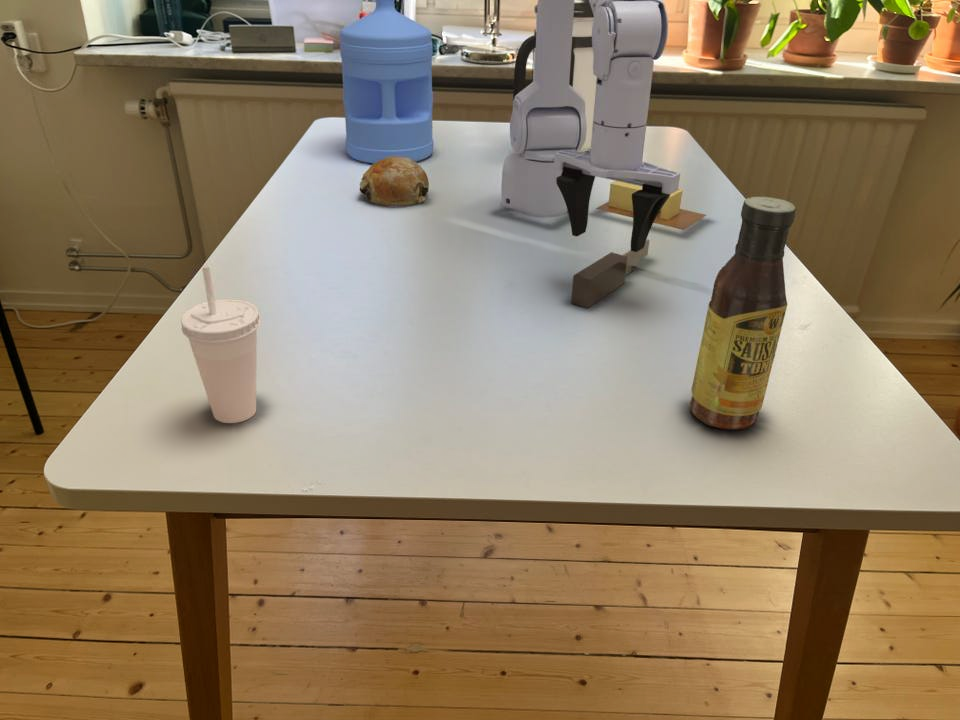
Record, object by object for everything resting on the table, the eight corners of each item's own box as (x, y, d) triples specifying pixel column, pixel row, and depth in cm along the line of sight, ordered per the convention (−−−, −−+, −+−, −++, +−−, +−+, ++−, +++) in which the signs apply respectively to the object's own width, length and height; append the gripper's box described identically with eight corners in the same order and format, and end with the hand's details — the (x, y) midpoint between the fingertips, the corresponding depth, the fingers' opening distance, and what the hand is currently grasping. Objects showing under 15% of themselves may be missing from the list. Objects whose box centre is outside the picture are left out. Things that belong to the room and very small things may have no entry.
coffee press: (519, 141, 157) (527, -32, 142) (603, 145, 155) (620, -29, 140) (510, 166, 142) (517, -24, 127) (602, 171, 140) (621, -21, 125)
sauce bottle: (720, 441, 71) (764, 222, 61) (673, 406, 75) (707, 197, 66) (776, 422, 73) (826, 210, 64) (727, 389, 78) (767, 187, 68)
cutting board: (594, 214, 121) (595, 208, 120) (620, 201, 127) (621, 195, 126) (682, 236, 114) (683, 229, 113) (705, 221, 119) (706, 214, 119)
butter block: (608, 206, 121) (610, 183, 120) (620, 199, 124) (623, 177, 122) (650, 216, 118) (653, 193, 116) (663, 209, 121) (666, 186, 119)
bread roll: (406, 232, 123) (428, 187, 119) (346, 198, 122) (365, 152, 118) (423, 211, 131) (444, 168, 127) (367, 179, 131) (386, 135, 127)
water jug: (347, 142, 153) (337, -22, 140) (431, 142, 155) (429, -21, 141) (344, 166, 140) (333, -13, 126) (436, 165, 141) (435, -12, 128)
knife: (570, 303, 94) (573, 275, 92) (638, 259, 106) (641, 233, 104) (587, 308, 93) (590, 280, 91) (653, 263, 105) (656, 237, 103)
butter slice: (659, 218, 117) (663, 195, 115) (671, 211, 120) (675, 188, 118) (667, 220, 116) (670, 196, 115) (679, 213, 119) (682, 190, 118)
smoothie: (205, 393, 76) (181, 252, 69) (276, 391, 76) (259, 251, 69) (190, 433, 70) (162, 283, 63) (266, 430, 71) (246, 282, 64)
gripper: (542, 118, 89) (535, 236, 95) (665, 140, 81) (649, 267, 88) (575, 107, 94) (567, 220, 100) (694, 127, 86) (676, 248, 93)
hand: (607, 241), depth 94 cm, fingers open, 7 cm apart
